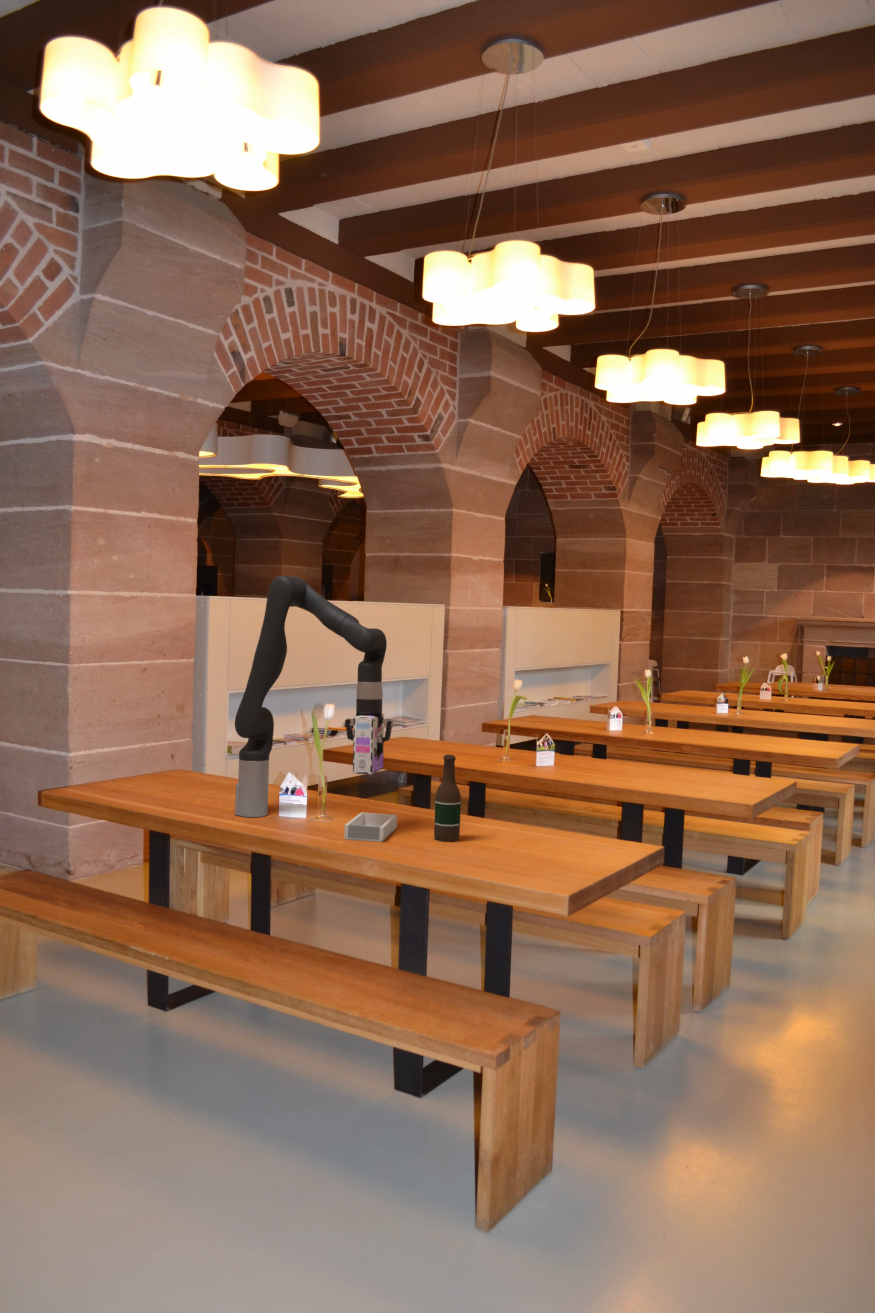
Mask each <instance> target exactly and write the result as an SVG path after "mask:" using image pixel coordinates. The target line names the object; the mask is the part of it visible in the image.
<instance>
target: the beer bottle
mask: <svg viewBox="0 0 875 1313" xmlns="http://www.w3.org/2000/svg"><path fill="white" fill-rule="evenodd" d="M442 758H443V769H442V779H441V782H440V785H439V786H438V787H437V790H436V792H435V799H434V820H433V821H434V824H433V826H434V827H433V834H434V835H433V837H434V840H435V841H439V842H442V843H443V842H446V843H453V842H457V841H459V840H460V833H461V832H460V831H461V808H462V807H461V805H462V804H461V803H462V802H461V800H462V798H461V792H460V788H459V787H458V785H457V783H456V773H455V772H456V765H455V764H456V763H455V761H456V760H457V759H456V755H453V754H444V755H443V757H442Z"/></svg>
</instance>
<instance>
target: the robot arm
mask: <svg viewBox="0 0 875 1313" xmlns="http://www.w3.org/2000/svg"><path fill="white" fill-rule="evenodd" d="M291 607H292V608H293V607H294V608H295V607H297V608H299V609H302V610H304V611H306V612H308V613H310V614H312V615H313V616H314V617H316V619H318V621H319V622H320V623H321V624H322V625H323V626H324V627H325V628H327V629H328V630H329V631H331V632H332V633H334V634H335V635H338V636H339V637H340V638H343V639H344V640H345V642H347V643H348V644H349V645H350V646H351V647H353V648H354V649H355V650H357V651H359V652H361V653H364V656H363V660H362V661H360V662H359V663H358V666H357V682H356V683H357V684H356V699H355V700H356V701H355V702H356V704H355V705H356V707H355V709H356V711H355V717H357V716H360V715H374V716H377V717H378V728H379V727H380V726H381V725H382V723H384V728H385V731H384V737H383V736H382V733H381V730H380V731H378V730H377V740H378V743H377V756H381V754H382V753H383V754H384V745H383V743H385V742H388V741H390V739H391V734H392V731H393V730H392V729H393V723H394V721H393V720H392V719H389V720H388V719H383V717H382V714H383V698H384V693H383V684H382V681H383V678H382V677H383V664H384V661H385V656H386V650H387V642H388V641H387V637H386V634H385V632H383V630H381V629H380V628H368V627H366V626H363V625H362V624H360V621H359V620H358V619H357V617H355V616H354V615H352V614H350V613H349V612H347V611H345V610H344V609H342V608H341V607H338V605H335V604H333V603H332V602H330V601H329V600H327V599H326V598H324V597H323V595H321V594H320V593H319V592H317V591H315V589H314V588H312V587H311V586H310V585H309V583H307V582H306V581H305V580H303V579H302V578H301V577H298V576H293V575H292V576H291V575H278V576H276V577H275V578H273V579H272V581H271V582H270V585H269V588H268V590H267V598H266V605H265V609H264V610H265V612H264V616H263V621H262V625H261V629H260V634H259V638H258V642H257V645H256V649H255V652H254V655H253V660H252V665H251V669H250V673H249V676H248V679H247V683H246V686H245V690H244V693H243V696H242V698H241V701H240V704H239V707H238V708H237V711H236V714H235V719H234V729H235V732H236V733H237V735H238V736H239V737H241V738H243V739H247V742H246V744H244V746H243V747H242V748H241V749H240V750H239V752H238V778H237V783H236V784H235V795H234V796H235V797H234V798H235V800H234V815H235V816H239V817H244V818H246V817H247V818H261V817H266V816H268V810H269V779H270V755H271V752H272V750H273V742H274V731H275V730H274V728H275V723H274V722H275V721H274V720H275V719H274V716H273V714H272V712H271V710H269V708H267V707H264V706H263V705H264V701H265V699H266V697H267V695H268V694H269V693H268V692H269V691H270V690H271V688H272V687H273V686H274V684H275V683H276V681H277V680H278V679H279V677H280V676H281V674H282V672H283V669H284V665H285V661H286V657H287V654H288V643H287V637H286V627H285V625H286V620H287V616H288V613H289V609H290V608H291ZM344 723H345V728H346V729H345V730H346V737H347V739H348V740H349V741H352V742H353V732H354V731H353V730H354V729H353V727H354V718H347V719H345V721H344Z"/></svg>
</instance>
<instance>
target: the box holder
mask: <svg viewBox="0 0 875 1313" xmlns="http://www.w3.org/2000/svg"><path fill="white" fill-rule="evenodd" d="M397 827H398V814H390V813H389V814H388V813H374V812H360V813H358V814H357V815H355V816H354V817H353V818H352V819H350V821H348V822H346V823H345V825H344V836H343V837H344V838H343V839H344V840H349V841H350V840H351V841H363V842H379V843H384V842H385V840H386V839H388V838H389V836H390V835H392V833H393V832H395V831H396V830H397Z"/></svg>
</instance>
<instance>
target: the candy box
mask: <svg viewBox="0 0 875 1313" xmlns="http://www.w3.org/2000/svg"><path fill="white" fill-rule="evenodd" d="M384 716H385V715H384V713H382V717H383V719H384ZM353 719H354V725H353V729H352V730H353V741H352V743H353V744H352V746H353V747H352V752H353V753H352V774H357V775H374V774H375V773H377V772H380V771H381V770H382V769H384V752H383V753H382V754H381V756H377V743H378V740H377V730H378V731H380V730H381V733H382V736H383V737H385V731H384V730H385V726H384V723H382V725H381V726H380V727H379V728H378V717H377V716H374V715H360V716H357V717H356V716H354V717H353ZM384 743H385V742H384ZM384 743H383V746H384Z"/></svg>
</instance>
